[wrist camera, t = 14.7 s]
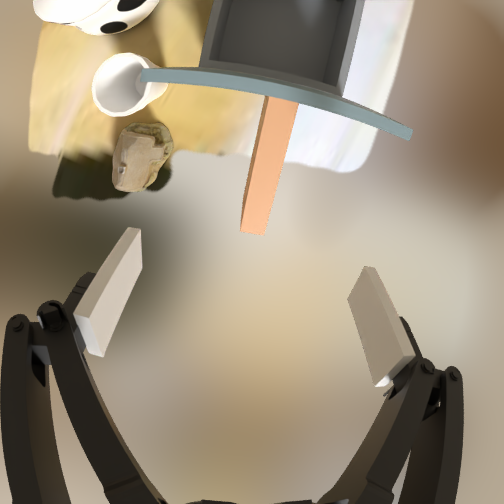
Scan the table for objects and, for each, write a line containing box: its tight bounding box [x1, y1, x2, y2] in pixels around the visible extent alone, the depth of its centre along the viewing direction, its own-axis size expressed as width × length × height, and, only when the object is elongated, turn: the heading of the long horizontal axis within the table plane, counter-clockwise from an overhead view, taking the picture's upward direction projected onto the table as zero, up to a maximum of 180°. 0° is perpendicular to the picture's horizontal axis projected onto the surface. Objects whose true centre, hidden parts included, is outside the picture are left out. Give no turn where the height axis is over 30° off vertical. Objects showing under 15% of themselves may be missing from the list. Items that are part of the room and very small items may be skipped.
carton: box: [199, 0, 365, 97], centre depth 30 cm, size 20×20×10 cm
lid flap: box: [140, 67, 413, 235], centre depth 27 cm, size 20×20×12 cm
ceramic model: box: [112, 123, 173, 192], centre depth 43 cm, size 14×11×10 cm
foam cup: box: [92, 53, 168, 117], centre depth 34 cm, size 10×9×13 cm
